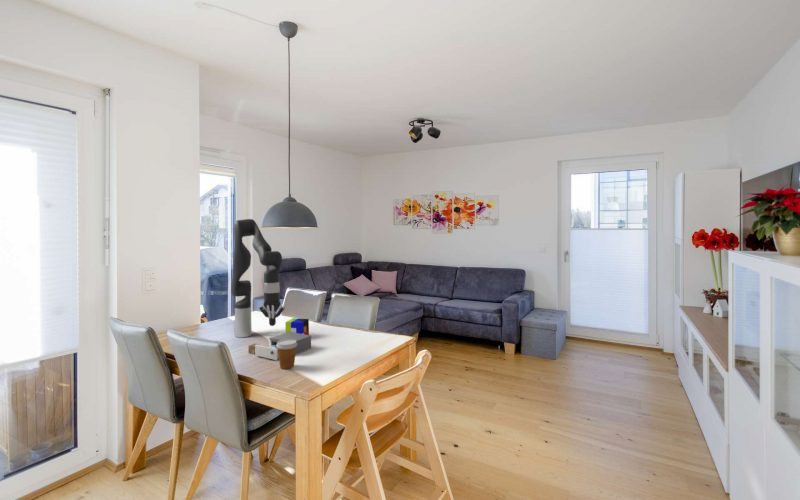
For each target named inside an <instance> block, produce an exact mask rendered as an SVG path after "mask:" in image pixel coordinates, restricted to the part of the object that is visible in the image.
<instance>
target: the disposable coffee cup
mask: <svg viewBox="0 0 800 500" xmlns="http://www.w3.org/2000/svg"><path fill="white" fill-rule="evenodd" d="M276 346H277V349H278V356H279V358H278V361H279V369H281V370H291V369H293V368H295V360H296V355H295V353H296V346H297V343H296V340H292V339H286V340H281V341H278V342H277V345H276Z"/></svg>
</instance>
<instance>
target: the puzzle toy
mask: <svg viewBox="0 0 800 500" xmlns="http://www.w3.org/2000/svg"><path fill="white" fill-rule="evenodd" d="M309 321H310V318H302V317H301V318H297V317H292V318H291V319H288V320H287V321H285V333H287V332H293V333H299V334H305V335H310V326H309V325H310V322H309Z"/></svg>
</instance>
